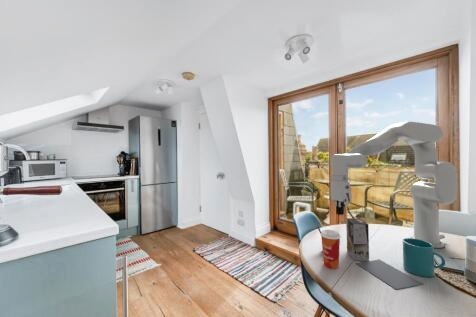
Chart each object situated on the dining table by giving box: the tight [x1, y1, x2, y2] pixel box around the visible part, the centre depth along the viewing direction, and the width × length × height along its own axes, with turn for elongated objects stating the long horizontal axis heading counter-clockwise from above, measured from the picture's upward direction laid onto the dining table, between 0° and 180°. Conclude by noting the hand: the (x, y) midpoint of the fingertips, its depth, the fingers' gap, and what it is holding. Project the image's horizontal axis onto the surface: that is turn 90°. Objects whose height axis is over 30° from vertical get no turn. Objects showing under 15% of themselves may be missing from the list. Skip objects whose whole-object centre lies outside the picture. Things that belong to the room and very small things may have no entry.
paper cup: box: [320, 229, 341, 270], centre depth 82 cm, size 8×8×14 cm
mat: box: [355, 259, 424, 290], centre depth 76 cm, size 12×17×1 cm
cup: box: [402, 237, 446, 278], centre depth 76 cm, size 9×12×11 cm
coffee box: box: [345, 217, 370, 262], centre depth 90 cm, size 9×6×16 cm
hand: (340, 214), depth 100 cm, fingers closed
